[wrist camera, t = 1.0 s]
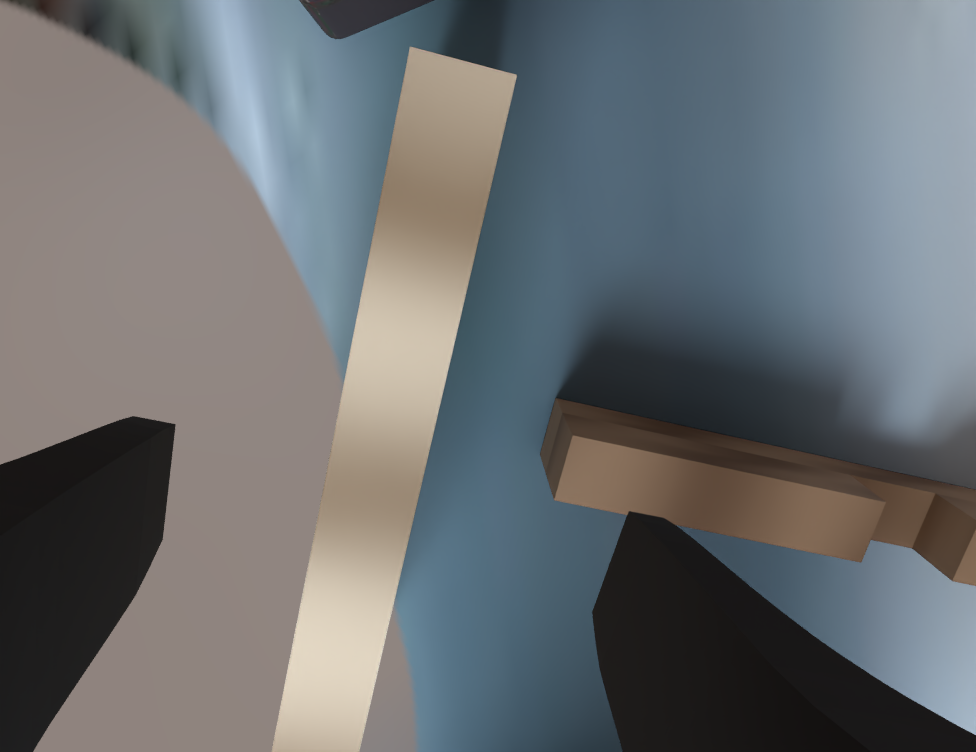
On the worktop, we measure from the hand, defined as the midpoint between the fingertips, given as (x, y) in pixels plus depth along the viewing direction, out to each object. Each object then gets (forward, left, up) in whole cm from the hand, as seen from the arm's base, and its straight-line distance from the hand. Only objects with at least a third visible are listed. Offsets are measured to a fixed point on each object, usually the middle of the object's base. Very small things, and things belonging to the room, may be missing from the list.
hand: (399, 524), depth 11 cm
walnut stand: (-2, -15, -12) cm, 19 cm away
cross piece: (-2, +1, -12) cm, 12 cm away
